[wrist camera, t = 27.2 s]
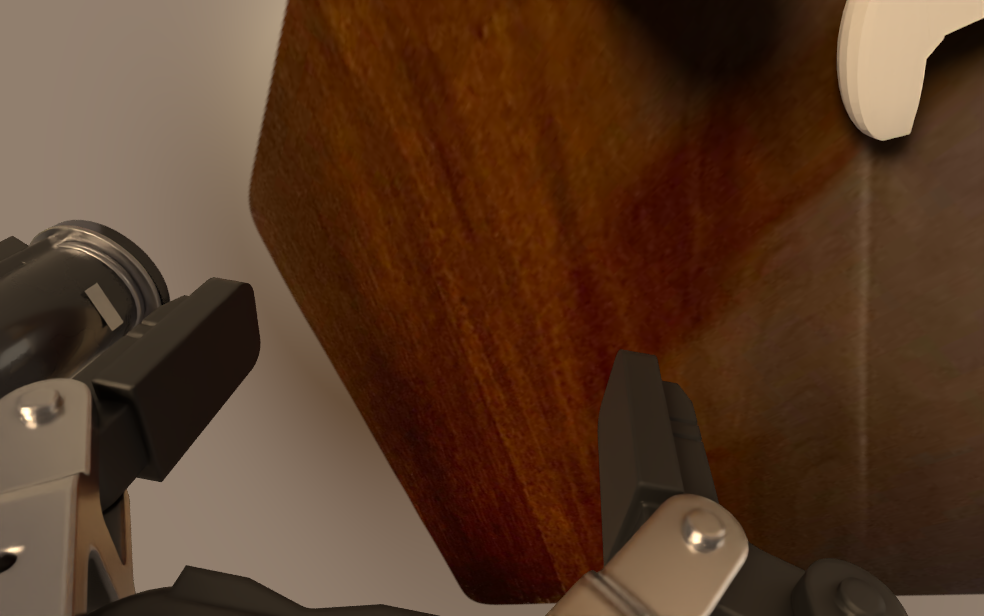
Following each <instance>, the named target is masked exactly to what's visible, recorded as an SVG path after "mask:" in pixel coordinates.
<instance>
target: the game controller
mask: <svg viewBox="0 0 984 616" xmlns="http://www.w3.org/2000/svg"><path fill="white" fill-rule="evenodd" d="M982 18H984V0H847V1H846V5H845V8H844V11H843V15H842V20H841V24H840V29H839V36H838V44H837V75H838V83H839V89H840V93H841V98H842V101H843V103H844V106H845V109H846V111H847V113H848V115H849V117H850V119H851V120H852V122H853V123H854V124H855V126H856V127H857V128H858V129H859V130H860V131H861V132H862V133H864V134H866V135H868V136H870V137H872V138H875V139H878V140H881V141H884V140H888V139H892V138H896V137H900V136H904V135H909V134H910V132H911V129H912V126H913V122H914V118H915V115H916V112H917V109H918V105H919V101H920V96H921V91H922V86H923V80H924V74H925V66H926V59H927V58H928V57H929V55H930V54H931V53H932V52H933V51H934V50H935V48H936V47H937V46H938V45H939V44H940V43H941V41H942V40H943V39H944V36H945V35H947V34H949V33H951V32H953V31H956V30H958V29H960V28H962V27H965V26H967V25H969V24H971V23H973V22H976V21H978V20H980V19H982Z"/></svg>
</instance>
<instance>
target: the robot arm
mask: <svg viewBox="0 0 984 616" xmlns="http://www.w3.org/2000/svg"><path fill="white" fill-rule="evenodd" d="M143 317H144V302H143V298H142V295H141V293H140V290H139V288H138V287H137V285H136V283H135V282H134V280H133V279H132V278H131V276H130V275H129V274H128V273H127V272H126V270H125V269H124V268H123V267H122V266H121V265H119V264H118V263H117V262H116V261H115V260H113V259H112V258H111V257H109V256H108V255H106V254H105V253H103V252H101V251H99V250H97V249H95V248H93V247H91V246H88V245H85V244H81V243H76V242H63V241H61V240H59V239H58V238H56V237H55V236H52V235H51V236H49V237H47V238H45V239H43V240H41V241H39V242H37V243H35V244H33V245H31V246H28V245H27V244H25V243H23V242H22V241H20V240H19V239H17V238H15V237H14V236H11V237H9V238H7V239H5V240H3V241H1V242H0V616H438V615H433V614H428V613H423V612H418V611H413V610H408V609H403V608H398V607H392V606H388V605H383V604H379V605H363V606H348V607H332V608H318V609H317V608H316V609H311V608H306V607H303V606H301V605H299V604H297V603H295V602H293V601H292V600H290V599H288V598H286V597H284V596H282V595H280V594H278V593H277V592H274V591H273V590H271V589H269V588H267V587H265V586H263V585H262V584H260V583H258V582H256V581H254V580H252V579H250V578H247V577H242V576H237V575H232V574H227V573H222V572H217V571H212V570H207V569H202V568H197V567H192V566H187V565H186V566H185V568H184V570H183V571H182V572H181V574H180V576H179V577H178V579H177V580H176V582H175V583H174V585H173V586H172V587H163V588H158V589H152V590H147V591H144V592H140V593H137V594H136V593H135V587H134V582H133V581H134V580H133V564H132V542H131V521H130V499H129V494H128V492H127V488H128V486H129V485H130V484H131V483H132V482H133V481H134V480H135V478H136V477H137V478H142V479H147V480H153V481H158V482H162V481H163V480H164V479H165V477H166V476H167V475H168V474H169V472H170V471H171V470H172V469H173V467H174V466H175V465H176V464H177V462H178V461H179V460H180V459H181V457H182V456H183V455H184V453H185V452H186V451H187V450H188V449H189V447H190V446H191V445H192V444H193V442H194V441H195V440H196V439H197V437H198V436H199V435H200V434H201V432H202V431H203V430H204V429H205V427H206V426H207V425H208V424H209V422H210V421H211V420H212V418H213V417H214V416H215V415H216V414H217V412H218V411H219V410H220V409H221V407H222V406H223V405H224V404H225V402H226V401H227V400H228V399H229V397H230V396H231V395H232V394H233V392H234V391H235V390H236V388H237V387H238V386H239V385H240V384H241V382H242V381H243V380H244V379H245V377H246V376H247V375H248V373H249V372H250V371H251V370H252V369H253V367H254V365H255V364H256V361H257V359H258V356H259V351H260V334H259V327H258V320H257V312H256V305H255V297H254V291H253V288H252V287H251V285H250V284H248V283H243V282H238V281H232V280H226V279H220V278H215V277H214V278H210V279H209V280H207V281H206V282H205V283H204V284H203V285H201V286H200V287H199V288H198V289H197V290H195V291H194V292H193V293H192V294H191V295H190V296H185V295H184V296H182V297H180V298H178V299H175V300H173V301H170V302H168V303H166V304H164V305H162V306H159V307H158V308H157V309H156V310H155V311H153V312H152V313H151V314H150V315H148V316H147V317H146V318H145V319H144V320H143ZM141 322H142V324H140V323H141ZM126 335H127V336H126ZM598 446H599V468H600V490H601V511H602V533H603V554H604V568H603V569H602V570H601V571H600V572H598V573H596V572H595V571H593V570H592V571H589V572H588V573H586V574H585V575H584V576H583V577H582V578H580V579H579V580H578V581H577V583H576V584H575V585H574V586H573V587H572V588H571V589H570V590H569V591H568V592H567V593H566V594H565V595H564V596H563V597H562V598H561V599H560V601H559V602H558V603H557V604H556V605H555V606H554V607H553V608H552V609H551V610H550V611H549V612H548V613H547V614H546V615H545V616H908V615H907V613H906V611H905V609H904V608H903V606H902V604H901V603H900V602H899V600H898V599H897V597H896V596H895V595H894V594H893V593H892V592H891V590H890V589H889V588H887V587H886V586H885V585H884V584H883V583H882V582H881V581H880V580H879V579H877V578H876V577H875V576H873V575H872V574H870V573H869V572H867V571H866V570H864V569H862V568H860V567H859V566H857V565H854V564H852V563H850V562H847V561H843V560H839V559H833V558H825V559H820V560H818V561H815V562H814V563H813V564H811V565H810V566H809V568H808V569H807V571H805V570H803V569H800V568H798V567H796V566H794V565H792V564H790V563H788V562H785V561H783V560H781V559H779V558H777V557H775V556H773V555H770V554H768V553H766V552H764V551H762V550H760V549H759V548H757V547H755V546H754V545H752V544H751V543H749V542H748V540H747V537H746V534H745V532H744V530H743V528H742V527H741V525H740V524H739V522H738V521H737V520H736V519H735V517H734V516H733V515H732V514H731V513H730V512H728V511H727V510H726V509H725V508H723V507H722V506H721V505H719V502H718V498H717V494H716V491H715V487H714V483H713V479H712V476H711V472H710V468H709V464H708V460H707V457H706V453H705V449H704V445H703V442H701V434H700V430H699V426H697V419H696V415H695V411H694V407H693V404H692V402H691V400H690V399H689V398H688V396H687V395H686V394H685V393H684V391H683V390H682V389H681V387H680V386H679V385H678V384H677V383H671V382H665V381H662V380H661V375H660V370H659V365H658V360H657V357H656V356H655V355H650V354H644V353H638V352H632V351H627V350H621V349H620V350H619V351H618V353H617V356H616V358H615V362H614V365H613V368H612V371H611V375H610V378H609V381H608V384H607V388H606V391H605V394H604V397H603V401H602V404H601V408H600V413H599V421H598Z"/></svg>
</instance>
